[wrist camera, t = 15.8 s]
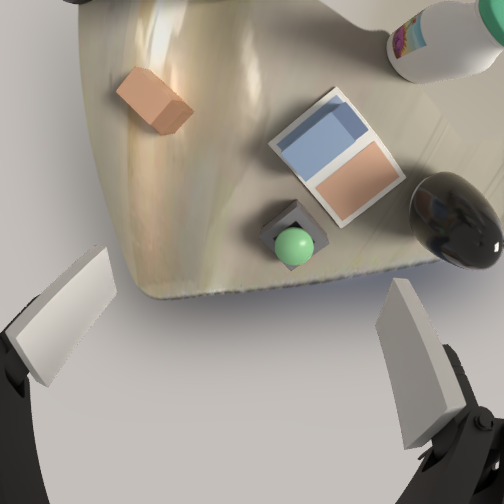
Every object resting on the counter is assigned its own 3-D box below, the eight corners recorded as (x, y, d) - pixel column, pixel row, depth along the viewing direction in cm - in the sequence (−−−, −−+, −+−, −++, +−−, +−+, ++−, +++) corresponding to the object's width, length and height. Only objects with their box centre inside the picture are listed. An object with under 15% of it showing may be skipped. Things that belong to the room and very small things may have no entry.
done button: (268, 236, 34) (266, 245, 32) (296, 213, 32) (296, 222, 30) (291, 260, 35) (291, 272, 33) (319, 240, 34) (321, 250, 31)
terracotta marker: (132, 92, 30) (115, 91, 27) (150, 70, 29) (135, 66, 25) (174, 133, 32) (160, 136, 29) (195, 111, 31) (183, 110, 27)
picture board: (267, 143, 31) (267, 144, 31) (336, 86, 27) (337, 86, 27) (340, 227, 35) (341, 229, 34) (405, 177, 30) (406, 177, 30)
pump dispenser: (457, 235, 32) (514, 292, 19) (397, 240, 34) (444, 307, 21) (462, 167, 28) (535, 200, 15) (399, 166, 30) (462, 200, 17)
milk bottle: (447, 67, 23) (553, 51, 5) (414, 95, 26) (524, 88, 8) (408, 21, 21) (494, -35, 3) (372, 48, 24) (452, -14, 6)
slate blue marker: (304, 175, 32) (305, 182, 29) (281, 150, 31) (280, 153, 28) (360, 129, 29) (369, 130, 25) (338, 103, 28) (345, 100, 24)
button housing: (261, 228, 36) (258, 237, 34) (296, 199, 34) (297, 206, 31) (291, 260, 38) (291, 271, 35) (326, 233, 35) (329, 243, 33)
